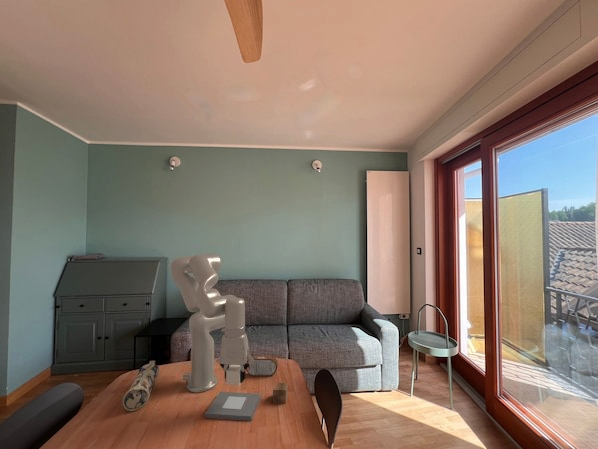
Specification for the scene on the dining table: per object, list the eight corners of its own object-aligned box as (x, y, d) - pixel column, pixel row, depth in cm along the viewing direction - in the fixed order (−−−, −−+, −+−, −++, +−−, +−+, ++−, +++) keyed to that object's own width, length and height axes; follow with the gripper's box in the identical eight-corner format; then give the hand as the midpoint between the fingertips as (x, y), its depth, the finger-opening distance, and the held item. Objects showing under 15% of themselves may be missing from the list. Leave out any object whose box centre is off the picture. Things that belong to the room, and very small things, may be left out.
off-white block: (226, 384, 94) (226, 370, 95) (231, 377, 99) (231, 364, 100) (239, 385, 94) (239, 371, 94) (243, 378, 99) (243, 364, 99)
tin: (278, 373, 120) (278, 355, 121) (277, 376, 117) (277, 358, 118) (246, 373, 121) (246, 355, 121) (244, 376, 118) (245, 358, 118)
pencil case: (137, 384, 112) (138, 361, 113) (159, 381, 115) (160, 358, 116) (120, 417, 92) (121, 389, 92) (147, 411, 94) (148, 384, 95)
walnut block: (273, 402, 99) (273, 389, 99) (275, 395, 104) (275, 382, 104) (285, 403, 98) (285, 390, 98) (287, 395, 103) (287, 383, 103)
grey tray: (204, 417, 91) (204, 412, 91) (220, 395, 104) (220, 391, 104) (251, 420, 89) (251, 415, 89) (260, 397, 102) (260, 393, 102)
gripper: (209, 334, 95) (209, 385, 94) (253, 335, 93) (254, 387, 92) (217, 327, 102) (217, 374, 101) (259, 328, 101) (259, 376, 99)
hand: (235, 380), depth 97 cm, fingers closed on off-white block, 5 cm apart
